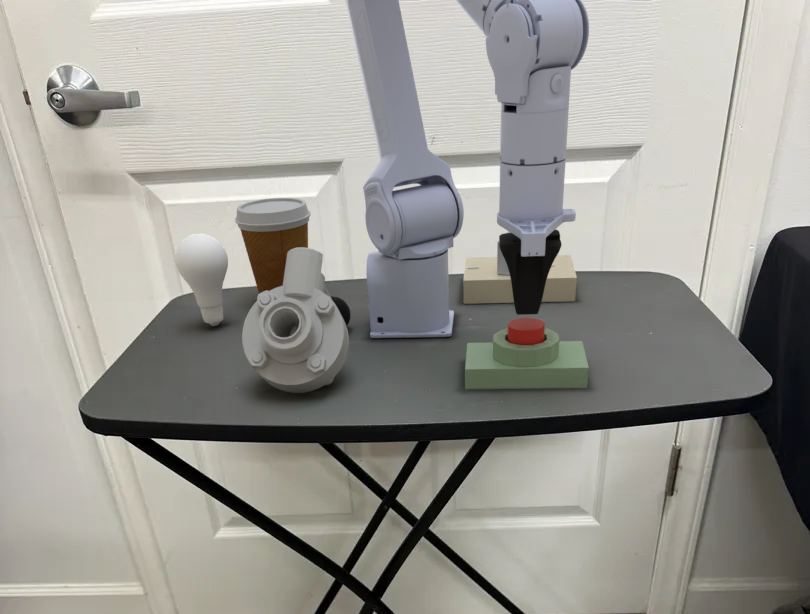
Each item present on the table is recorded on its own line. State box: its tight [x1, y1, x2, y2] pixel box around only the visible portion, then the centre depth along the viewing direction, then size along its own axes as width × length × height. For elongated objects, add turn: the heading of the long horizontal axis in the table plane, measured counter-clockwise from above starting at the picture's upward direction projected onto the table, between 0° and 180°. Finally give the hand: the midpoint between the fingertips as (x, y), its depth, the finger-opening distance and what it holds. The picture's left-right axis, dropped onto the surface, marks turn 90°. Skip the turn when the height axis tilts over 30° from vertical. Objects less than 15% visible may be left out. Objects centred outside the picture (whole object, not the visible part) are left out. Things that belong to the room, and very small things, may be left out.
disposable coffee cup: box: [234, 197, 311, 294], centre depth 100 cm, size 10×10×12 cm
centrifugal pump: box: [241, 247, 351, 394], centre depth 83 cm, size 10×20×15 cm
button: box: [507, 317, 546, 345], centre depth 77 cm, size 4×4×2 cm
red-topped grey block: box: [496, 231, 511, 275], centre depth 99 cm, size 7×2×4 cm, turn 159°
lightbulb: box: [174, 232, 229, 327], centre depth 94 cm, size 6×6×11 cm
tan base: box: [462, 254, 578, 305], centre depth 101 cm, size 14×11×3 cm
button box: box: [464, 327, 590, 390], centre depth 78 cm, size 12×7×4 cm, turn 85°
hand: (527, 312), depth 76 cm, fingers closed
